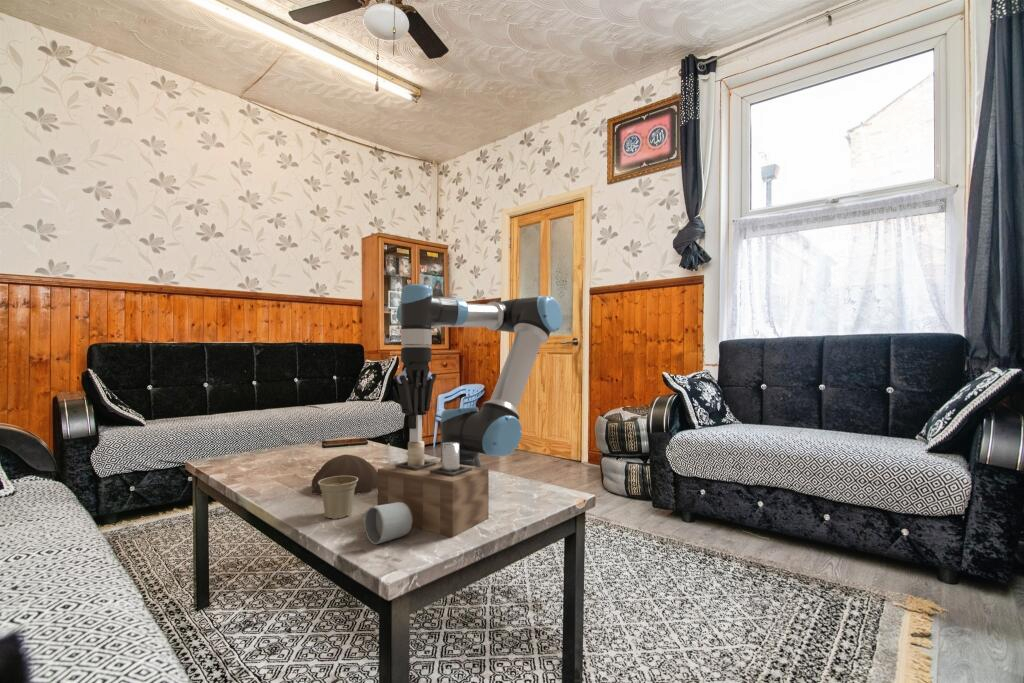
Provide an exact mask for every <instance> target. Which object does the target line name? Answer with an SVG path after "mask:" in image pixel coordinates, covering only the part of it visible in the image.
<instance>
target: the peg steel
mask: <svg viewBox="0 0 1024 683" xmlns="http://www.w3.org/2000/svg"><path fill="white" fill-rule="evenodd" d="M442 471H446V472H452V473H453V472H456V471H459V443H458V442H446V443H443V445H442Z"/></svg>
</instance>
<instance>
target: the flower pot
mask: <svg viewBox="0 0 1024 683" xmlns="http://www.w3.org/2000/svg"><path fill="white" fill-rule="evenodd" d="M357 481H358V478H357V477H355V476H334V477H329V478H324V479H321V480H320V481H319V482H318V484H319V485H320V489H321V491H322V495H321V496H322V503H323V511H324V517H325V518H328V519H329V518H332V519H331V520H335V519H337V518H339V519H343V518H344V517H349V516H351V515H352V513H353V503H354V497H355V495H354V491H355V487H356V483H357Z"/></svg>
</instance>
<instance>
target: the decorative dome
mask: <svg viewBox="0 0 1024 683" xmlns="http://www.w3.org/2000/svg"><path fill="white" fill-rule="evenodd" d="M334 476H355V477H357V478H358V481H357V483H356V487H355V491H354V494H355V495H358V494H357V493H360V494H366V493H367V492H368V493H370V492H371V491H372V490H374V489H378V470H377V469H376V468H375V467H374V465H372V463H371V462H369V461H367V460H366V459H364V458H363V457H360V456H357V455H351V454H341V455H337V456H335V457H332V458H331V459H329V460H328V461H326V462H325V463H324V464H323V465H322V466H321V468H320V469H319V470H318V471H317V472H316V473H315V475H314V476H313V477H312V481H311V489H312V493H318V494H317V495H320V494H322V491H321V489H320V485H319V484H318V482H319V481H320V480H321V479H324V478H329V477H334ZM312 493H311V494H312ZM368 493H367V494H368Z"/></svg>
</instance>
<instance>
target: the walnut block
mask: <svg viewBox="0 0 1024 683" xmlns="http://www.w3.org/2000/svg"><path fill="white" fill-rule="evenodd" d="M481 467H482V466H481ZM481 467H474V466H467V465H461V464H459V471H456V472H453V473H452V472H446V471H442V462H440V461H438V460H432V459H425V458H424V465H421V466H418V467H414V466H408V460H406V461H402V462H399V463H394V464H391V465H388V466H383V467H379V468H377V473H378V488H377V505H376V506H378V505H384V504H391V503H396V502H401V503H405V504H407V505H408V506H409V508H410V509H411V512H412V516H413V524H412V528H413V529H417V530H422V531H426V532H429V533H434V534H438V535H440V536H441V535H442V536H445V537H449V538H450V537H451V538H454V537H456V536H459V535H460V534H461V533H464V532H465V531H467V530H469V529H472V528H474V527H475V526H477V525H479V524H480V523H483V522H485V521H486V520H488V519H489V518H490V517H489V514H490V513H489V512H490V511H489V510H490V508H489V504H490V503H489V502H490V501H489V499H490V498H489V497H490V496H489V495H490V494H489V490H490V489H489V488H490V487H489V484H490V482H489V478H490V477H489V468H487V467H482V468H481ZM487 518H488V519H487ZM485 519H486V520H485ZM484 520H485V521H484ZM482 521H483V522H482Z"/></svg>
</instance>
